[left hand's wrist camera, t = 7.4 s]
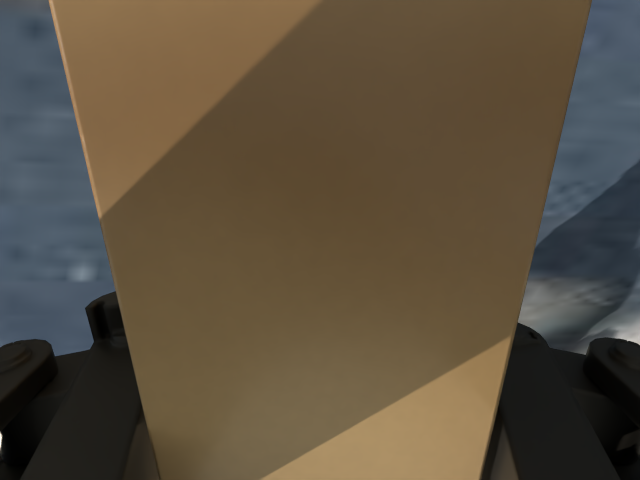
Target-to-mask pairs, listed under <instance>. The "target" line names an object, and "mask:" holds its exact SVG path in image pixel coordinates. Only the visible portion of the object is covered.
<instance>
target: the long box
mask: <svg viewBox="0 0 640 480" xmlns="http://www.w3.org/2000/svg"><path fill="white" fill-rule="evenodd" d="M591 2H592V0H49V4H50V8H51V12H52V17H53V21H54V25H55V30H56V34H57V38H58V43H59V47H60V51H61V56H62V60H63V64H64V69H65V73H66V77H67V82H68V86H69V90H70V95H71V99H72V103H73V108H74V112H75V116H76V121H77V125H78V129H79V134H80V138H81V142H82V147H83V151H84V155H85V160H86V164H87V168H88V173H89V177H90V181H91V186H92V190H93V194H94V199H95V203H96V207H97V212H98V216H99V220H100V225H101V229H102V233H103V238H104V242H105V246H106V251H107V255H108V259H109V264H110V268H111V272H112V277H113V281H114V285H115V290H116V294H117V298H118V303H119V307H120V311H121V316H122V320H123V324H124V329H125V333H126V337H127V342H128V346H129V350H130V355H131V359H132V363H133V368H134V372H135V376H136V381H137V385H138V389H139V394H140V398H141V402H142V407H143V411H144V415H145V420H146V424H147V428H148V433H149V437H150V441H151V446H152V450H153V454H154V459H155V463H156V467H157V472H158V476H159V480H481V478H482V474H483V470H484V465H485V461H486V457H487V452H488V448H489V444H490V439H491V435H492V431H493V426H494V422H495V418H496V413H497V409H498V405H499V400H500V396H501V392H502V387H503V383H504V379H505V374H506V370H507V366H508V361H509V357H510V353H511V348H512V344H513V340H514V335H515V331H516V327H517V323H518V318H519V314H520V310H521V305H522V301H523V297H524V292H525V288H526V284H527V279H528V275H529V271H530V266H531V262H532V258H533V253H534V249H535V245H536V240H537V236H538V232H539V227H540V223H541V219H542V214H543V210H544V206H545V201H546V197H547V193H548V188H549V184H550V180H551V175H552V171H553V167H554V162H555V158H556V154H557V150H558V145H559V141H560V137H561V132H562V128H563V124H564V119H565V115H566V111H567V106H568V102H569V98H570V93H571V89H572V85H573V80H574V76H575V72H576V67H577V63H578V59H579V54H580V50H581V46H582V41H583V37H584V33H585V28H586V24H587V20H588V15H589V11H590V7H591Z"/></svg>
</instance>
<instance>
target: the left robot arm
mask: <svg viewBox="0 0 640 480" xmlns="http://www.w3.org/2000/svg"><path fill="white" fill-rule="evenodd" d="M85 309H86V313H87V317H88V321H89V324H90V328H91V332H92V335H93V339H94V343H93V345H92V347H91V349H90V350H86V351H81V352H76V353H71V354H66V355H60V356H55V355H54V352H53V349H52V346H51V344H50V343H48V342H47V341H46V340H38V339H32V340H21V341H16V342H14V343H13V342H12V343H9V344H6V345H3V346H2V347H0V480H159V476H158V472H157V467H156V463H155V459H154V454H153V450H152V446H151V441H150V437H149V433H148V428H147V424H146V420H145V415H144V411H143V407H142V402H141V398H140V394H139V389H138V385H137V381H136V376H135V372H134V368H133V363H132V359H131V355H130V350H129V346H128V342H127V337H126V333H125V329H124V324H123V320H122V316H121V311H120V307H119V303H118V298H117V294H116V291H115V292H112V293H109V294H106V295H103V296H101V297H99V298H98V299H96V300H94V301H92V302H91V303H90V304H89V305H88V306H87V307H86V308H85ZM481 480H640V345H639V344H637V343H634V342H631V341H627V340H623V339H615V338H606V337H605V338H598V339H594V340H593V341H592V342H590V344H589V347H588V350H587V353H586V355H583V354H578V353H573V352H568V351H562V350H557V349H553V348H549V346H548V344H547V342H546V341H545V340H544V338H543V337H542V336H541V335H540V334H539V333H537V332H536V331H534V330H533V329H531V328H530V327H527V326H525V325H522V324H520V323H517V327H516V331H515V335H514V340H513V344H512V348H511V353H510V357H509V361H508V366H507V370H506V374H505V379H504V383H503V387H502V392H501V396H500V400H499V405H498V409H497V413H496V418H495V422H494V426H493V431H492V435H491V439H490V444H489V448H488V452H487V457H486V461H485V465H484V470H483V474H482V478H481Z"/></svg>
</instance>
